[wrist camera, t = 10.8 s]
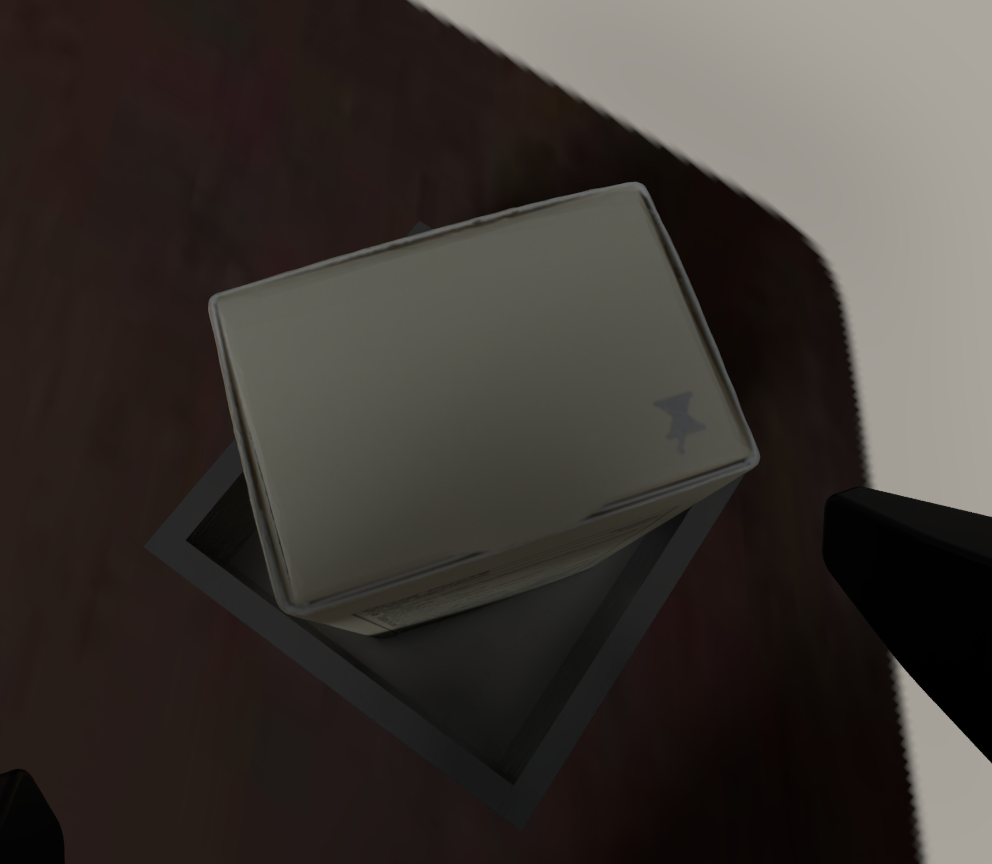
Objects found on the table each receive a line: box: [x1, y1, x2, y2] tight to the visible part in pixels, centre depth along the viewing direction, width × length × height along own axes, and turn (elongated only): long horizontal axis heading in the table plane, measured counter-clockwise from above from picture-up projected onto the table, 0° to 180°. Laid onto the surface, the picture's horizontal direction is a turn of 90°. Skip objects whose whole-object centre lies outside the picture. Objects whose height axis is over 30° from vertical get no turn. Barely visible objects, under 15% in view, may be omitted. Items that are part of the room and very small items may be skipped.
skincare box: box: [208, 182, 760, 639], centre depth 16 cm, size 6×4×12 cm
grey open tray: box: [144, 221, 745, 831], centre depth 20 cm, size 10×10×4 cm
